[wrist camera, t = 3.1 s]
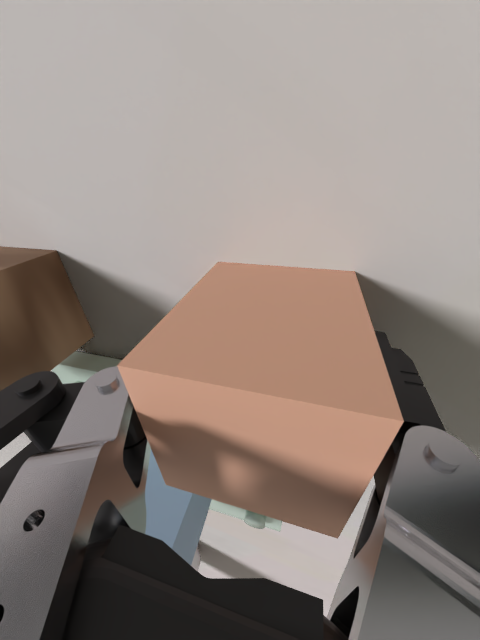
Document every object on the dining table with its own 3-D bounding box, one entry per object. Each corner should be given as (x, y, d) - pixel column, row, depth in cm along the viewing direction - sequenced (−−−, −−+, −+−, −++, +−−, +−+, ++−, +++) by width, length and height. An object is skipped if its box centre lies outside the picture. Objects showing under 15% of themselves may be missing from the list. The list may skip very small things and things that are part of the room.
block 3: (218, 261, 10) (117, 365, 5) (354, 271, 8) (403, 421, 4) (225, 357, 12) (165, 484, 7) (329, 374, 11) (337, 538, 6)
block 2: (139, 429, 16) (63, 544, 11) (209, 447, 15) (158, 584, 10) (155, 467, 19) (99, 572, 14) (216, 485, 18) (178, 607, 13)
